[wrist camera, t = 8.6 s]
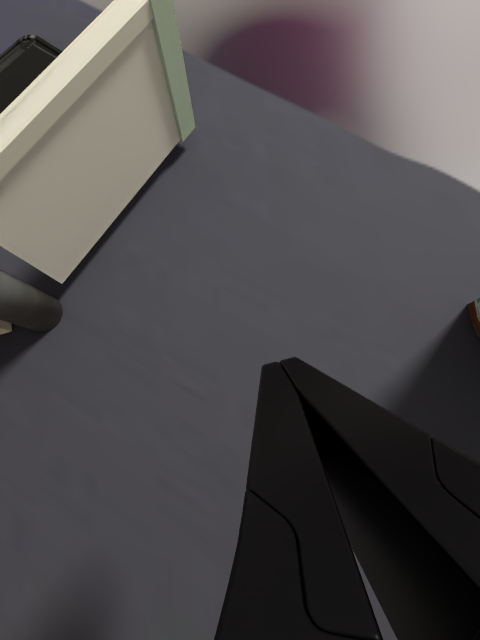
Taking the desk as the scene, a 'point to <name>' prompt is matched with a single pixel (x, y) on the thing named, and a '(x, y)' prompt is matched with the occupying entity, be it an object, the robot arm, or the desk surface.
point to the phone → (23, 66)
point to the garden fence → (26, 306)
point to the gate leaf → (91, 134)
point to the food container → (475, 314)
